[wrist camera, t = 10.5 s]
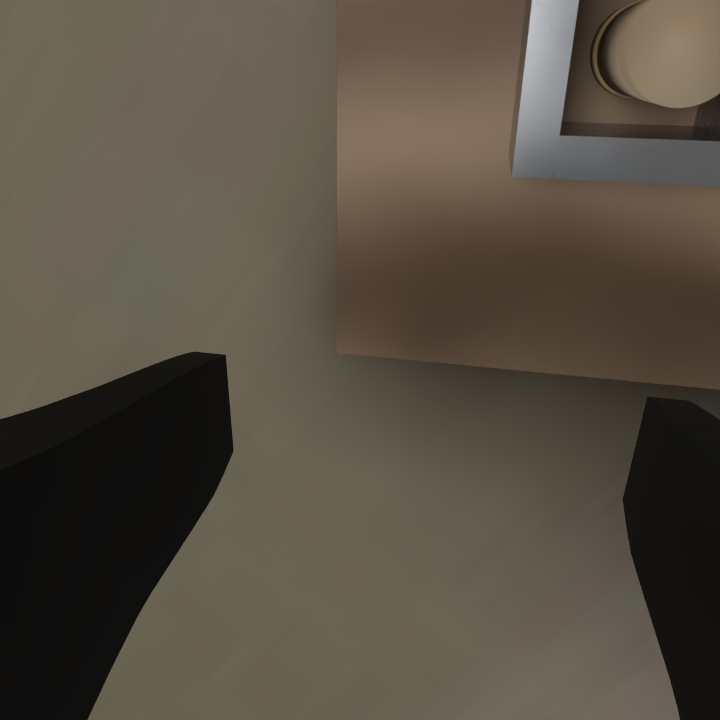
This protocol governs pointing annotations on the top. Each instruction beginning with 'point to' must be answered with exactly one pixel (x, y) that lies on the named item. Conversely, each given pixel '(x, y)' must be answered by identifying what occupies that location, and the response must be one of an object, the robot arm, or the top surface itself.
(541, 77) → the collar
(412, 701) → the top surface
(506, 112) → the board
